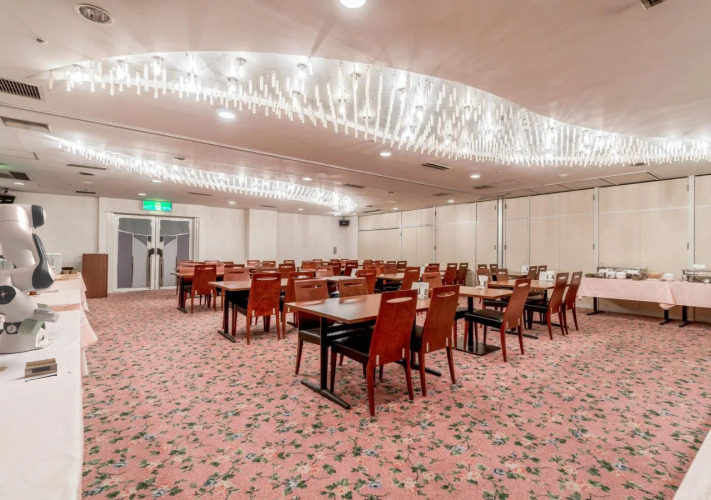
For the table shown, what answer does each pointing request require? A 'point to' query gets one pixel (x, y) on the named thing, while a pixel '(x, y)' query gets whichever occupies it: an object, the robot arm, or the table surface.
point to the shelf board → (41, 368)
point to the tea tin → (32, 324)
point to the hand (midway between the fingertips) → (36, 318)
